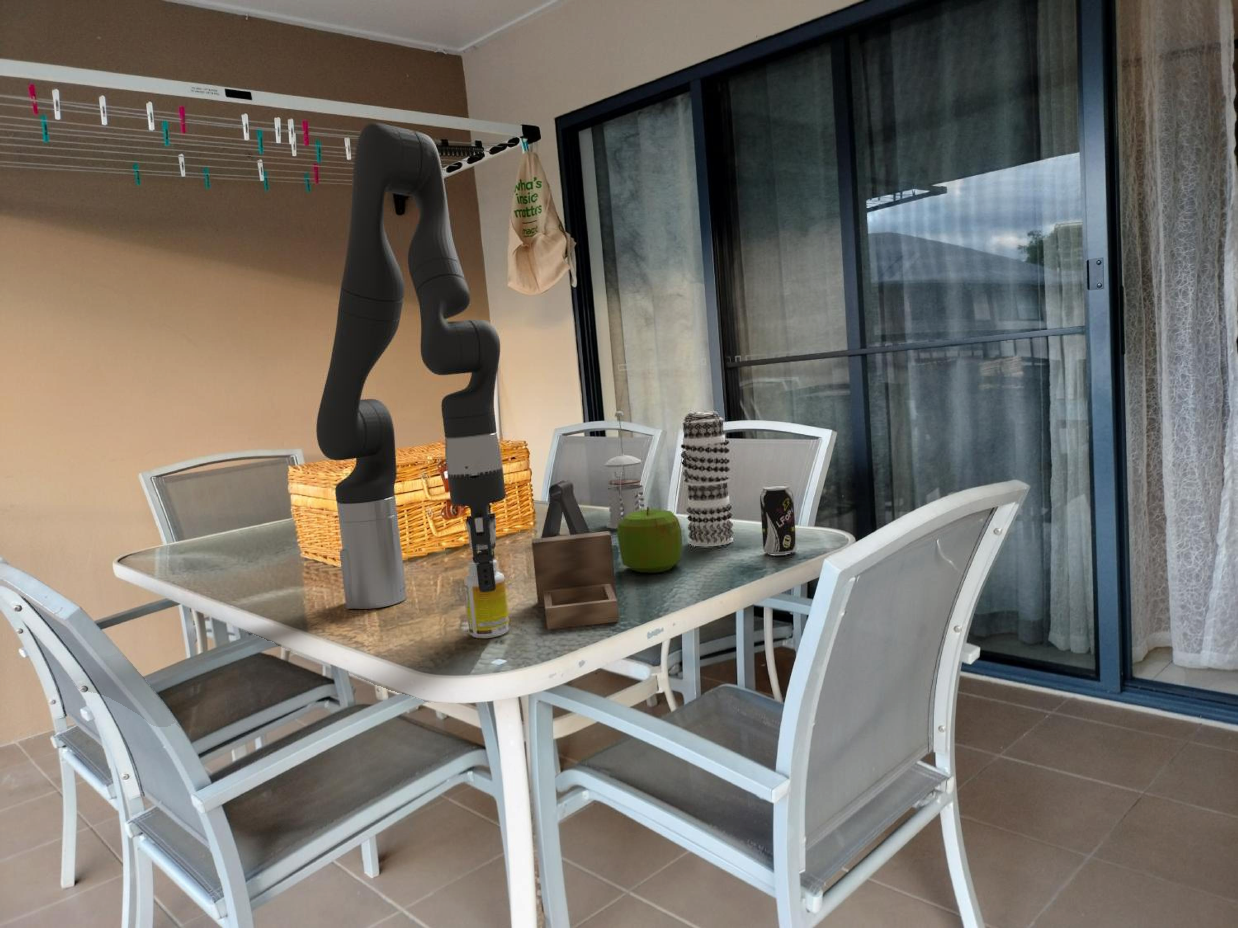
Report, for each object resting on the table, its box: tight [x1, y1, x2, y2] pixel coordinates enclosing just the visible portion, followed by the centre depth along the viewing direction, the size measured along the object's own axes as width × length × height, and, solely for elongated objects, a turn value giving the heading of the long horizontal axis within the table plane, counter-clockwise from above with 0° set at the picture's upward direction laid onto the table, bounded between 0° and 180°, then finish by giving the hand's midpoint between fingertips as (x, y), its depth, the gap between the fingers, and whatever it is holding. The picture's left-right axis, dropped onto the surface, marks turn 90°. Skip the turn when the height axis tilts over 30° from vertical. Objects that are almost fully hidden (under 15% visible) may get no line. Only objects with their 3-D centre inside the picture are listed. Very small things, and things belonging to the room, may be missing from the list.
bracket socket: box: [531, 530, 620, 631], centre depth 132 cm, size 12×15×10 cm
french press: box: [604, 410, 646, 530], centre depth 196 cm, size 10×12×25 cm
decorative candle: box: [680, 410, 734, 547], centre depth 171 cm, size 9×9×25 cm
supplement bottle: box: [463, 558, 510, 639], centre depth 125 cm, size 6×6×10 cm
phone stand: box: [540, 480, 591, 538], centre depth 187 cm, size 9×6×12 cm, turn 70°
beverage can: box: [759, 484, 797, 555], centre depth 158 cm, size 6×6×12 cm
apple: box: [616, 506, 683, 574], centre depth 154 cm, size 11×11×11 cm
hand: (488, 583), depth 125 cm, fingers open, 8 cm apart
